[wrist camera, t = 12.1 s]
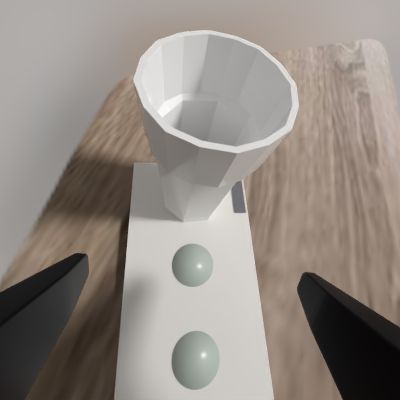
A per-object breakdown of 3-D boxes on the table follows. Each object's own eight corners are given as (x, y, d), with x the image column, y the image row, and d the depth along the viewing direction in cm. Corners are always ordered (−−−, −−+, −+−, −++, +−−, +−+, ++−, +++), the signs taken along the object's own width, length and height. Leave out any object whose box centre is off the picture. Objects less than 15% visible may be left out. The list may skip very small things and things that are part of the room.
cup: (220, 241, 17) (293, 175, 7) (142, 218, 17) (104, 118, 7) (234, 173, 20) (303, 57, 10) (167, 153, 20) (166, 13, 10)
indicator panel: (269, 401, 14) (276, 408, 13) (114, 423, 13) (110, 432, 12) (238, 170, 21) (241, 165, 20) (135, 166, 20) (134, 161, 19)
